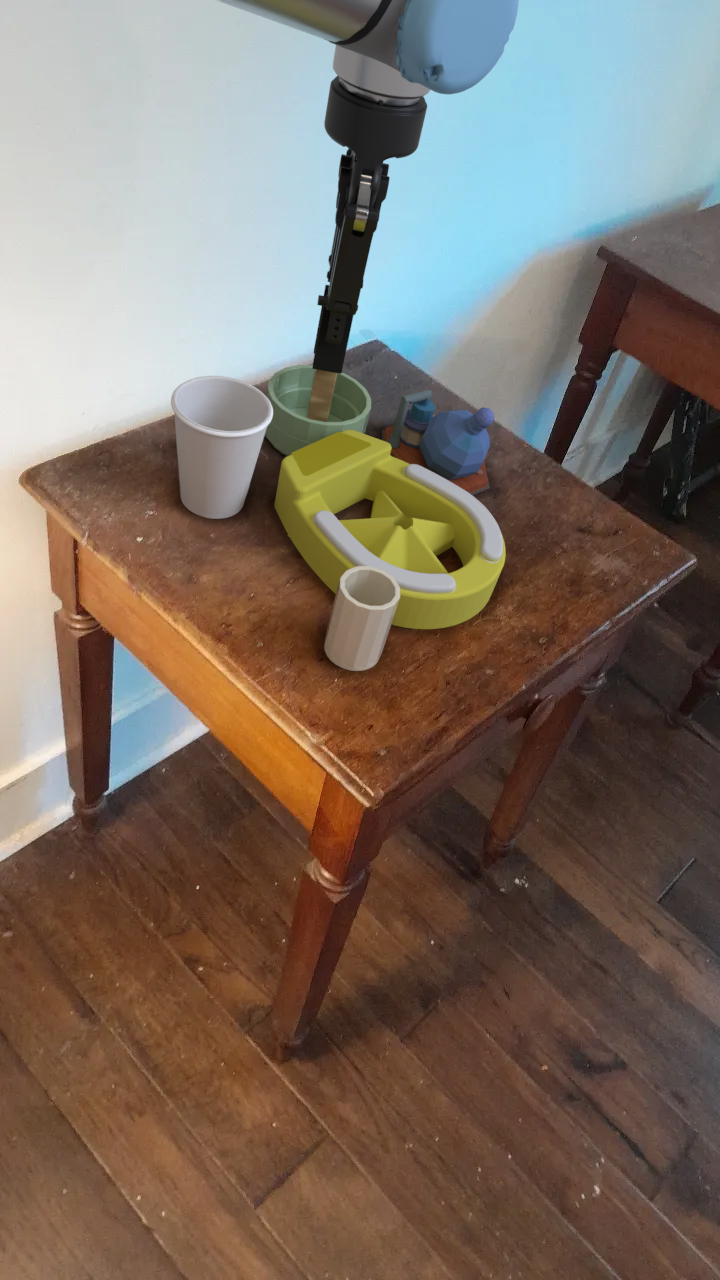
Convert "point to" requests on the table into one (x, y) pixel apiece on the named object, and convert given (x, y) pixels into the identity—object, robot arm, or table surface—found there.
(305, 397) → the bowl
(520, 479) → the table surface
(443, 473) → the model
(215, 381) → the dixie cup
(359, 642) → the holder
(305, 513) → the toy steering wheel
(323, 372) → the stick
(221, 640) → the table surface
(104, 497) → the table surface
